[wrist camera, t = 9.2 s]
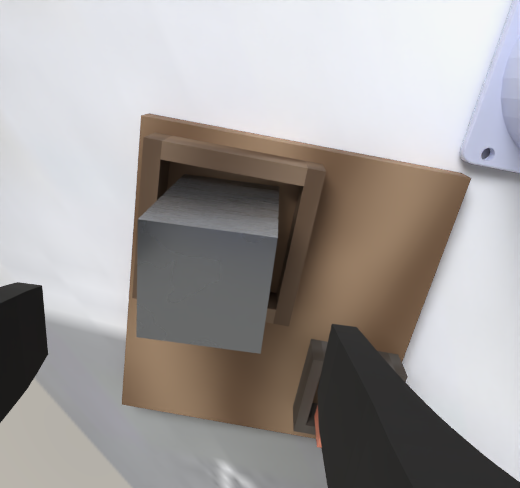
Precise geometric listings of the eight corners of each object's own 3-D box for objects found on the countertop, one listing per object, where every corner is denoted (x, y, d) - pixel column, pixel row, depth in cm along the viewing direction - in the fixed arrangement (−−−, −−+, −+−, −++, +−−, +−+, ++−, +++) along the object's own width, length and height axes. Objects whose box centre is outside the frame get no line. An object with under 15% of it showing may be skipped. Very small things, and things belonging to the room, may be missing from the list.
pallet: (461, 172, 18) (489, 187, 15) (365, 433, 23) (375, 474, 21) (148, 113, 17) (127, 119, 15) (128, 391, 23) (110, 427, 21)
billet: (279, 186, 17) (278, 237, 12) (267, 272, 19) (260, 353, 13) (184, 174, 17) (137, 218, 12) (179, 260, 19) (136, 337, 13)
